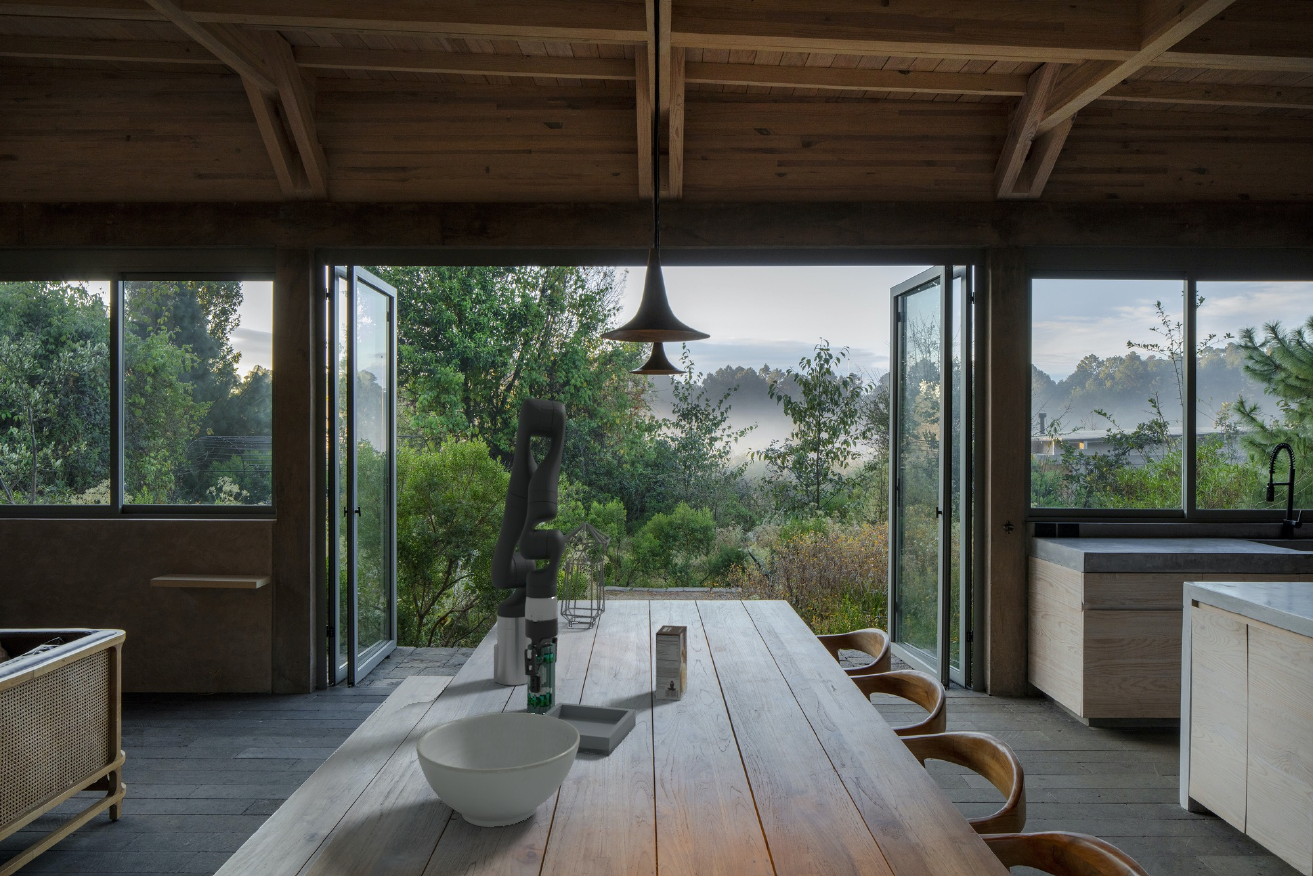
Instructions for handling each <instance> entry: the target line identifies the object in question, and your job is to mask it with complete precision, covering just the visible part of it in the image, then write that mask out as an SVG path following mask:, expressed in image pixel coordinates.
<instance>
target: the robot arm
mask: <svg viewBox="0 0 1313 876" xmlns="http://www.w3.org/2000/svg"><path fill="white" fill-rule="evenodd" d="M566 427H567V408H566V406H565V404H564V403H563V402H561V401H557V400H551V399H550V400H549V399H541V398H534V397H532V398H531V397H527V398H525V399H524V400H523V401H522V404H521V406H520V409H519V416H518V422H517V430H516V440H515V448H514V455H513V462H512V466H511V467H512V468H511V471H510V477H509V480H508V481H509V482H508V485H507V490H506V497H505V504H504V508H503V509H504V510H503V516H502V521H501V526H500V530H499V534H498V539H497V543H496V544H495V545H496V546H495V549H494V553H493V556H492V560H491V564H490V565H491V566H490V581H491V584H492V585H493V587H494V588H495V589H498V590H510V589H511V590H512V589H513V590H514V589H515V590H514V592H513V593H512V594H511V595H510V596H508V597H507V598H506V599H504V600H501V601H500V602H499V603H498V604H497V607H496V610H497V611H496V615H497V616H496V643H495V644H494V645H493V683H497V684H500V685H505V686H520V685H521V686H522V685H526V684H527V675H529V676H530V691H531V692H532V693H539V692H540V674H541V668H542V666H544V655H543V657H541V648H543V647H544V648H545V647H551V645H552V644H551V643H554V644H555V664H556V663H557V661H558V660H557V658H558V657H557V656H558V641H559V640H558V633H559V604H558V573H559V568H560V564H561V560H562V557H563V554H564V552H565V549H564V547H565V545H566V543H565V538H564V536H565V535H564V534H563V532H562V531H561V530H559V529H558V528H557V529H556V528H549V529H547V528H542V529H541V528H540V529H539V528H537V526H538V525H540V524H542V523H545V522H549V521H553V520H555V519H556V518H557V517H558V511H559V510H558V508H559V506H558V505H559V503H558V502H559V480H560V479H559V476H560V470H561V463H562V459H563V458H562V457H563V451H564V444H565V443H564V442H565V434H566ZM532 437H537V438H547V439H549V440H550V442H549V448H548V451H547V452H546V454H545V456H544V458H543V460H542V461H541V462H540V464H539V465H538V464H537V463H536V460H535V459H534V455H533V453H532V449H531V439H532ZM536 528H537V529H536ZM517 546H518V548H517ZM516 548H517V549H518V551H516ZM536 560H537V561H541V560H543V561H544V560H545V561H546V560H547V561H549V562H548V563H547V565H546V566H544V567H542V568H537V564H536ZM529 644H531V647H530V649H528V645H529ZM536 652H537V653H536ZM537 655H538V656H539V657H541V661H540V662H537ZM529 666H530V668H529ZM537 666H538V668H537Z"/></svg>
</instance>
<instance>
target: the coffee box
mask: <svg viewBox="0 0 1313 876" xmlns="http://www.w3.org/2000/svg"><path fill="white" fill-rule="evenodd" d="M687 633H688V626H687V625H662V626H661V627H660V628H659V629H658V630H657V631H656V633H655V699H656V698H657V700H671V701H681V700H682V698H683V697H684V695H685V693H686V692H687V691H688V685H687V684H688V639H687V638H688V634H687Z"/></svg>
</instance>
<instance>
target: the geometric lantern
mask: <svg viewBox="0 0 1313 876" xmlns="http://www.w3.org/2000/svg"><path fill="white" fill-rule="evenodd" d="M582 532H583V534H582ZM589 532H590V534H591V535H592V537H593V538H592V537H589ZM581 534H582V536H580V535H581ZM576 535H577V536H576ZM585 535H586V536H585ZM603 536H604V537H603ZM564 538H565V547H564V557H565V558H564V559H565V561H564V562H565V571H564V578H563V587H562V594H561V597H562V598H561V604H560V612H559V613H560V616H561V617H563V618H564V619H565V620H566V621H567V622H568V626H569V627H573V624H572V622H578V623H577V624H589V628H590V627H593V625H594V624H593V622H594V623H597V621H596V620H597V619H598V618H599V617H600V616H601V615H603V614H604V613H605V612H606V605H605V604H606V603H605V602H606V600H605V574H604V573H605V572H604V571H605V569H604V560H605V555H606V550H607V549H608V546H609V544H610V541H611V540H612V538H611V537H610V536H608V535H607V534H606V533H604V532H602V531H600V530H599V529H597V528H596V527H594V526H593V525H591V524H590V523H588V522H582V523H581V524H580V525H579V526H578V527H577V528H575V529H574V530H572V531H571V532H569V533H568V534H566V535H564ZM572 538H574V540H572ZM580 539H582V540H580ZM585 540H586V541H587V542H585ZM571 543H573V545H571ZM576 544H578V545H581V548H582V549H576ZM589 544H590V545H589ZM591 544H592V545H591ZM601 544H602V550H601V551H600V553H598V551H597V549H596V548H597V547H599V546H600V545H601ZM570 548H571V549H572V550H573V551H574V552H573V553H572V551H571V549H570ZM591 548H592V549H594V550H595V552H596V555H597V556H598V557H597V559H591V558H589V555H588V554H587V552H586V551H587V550H589V549H591ZM567 549H568V550H569V553H570V554H571V557H570V558H569V560H568V559H567ZM577 552H580V554H579V555H578V557H577V558H574V555H575V554H576V553H577ZM602 552H603V554H602ZM583 553H584V554H585V557H586V559H581V556H582V555H583ZM601 555H602V559H601ZM575 561H577V562H576V563H575ZM579 561H588V562H589V563H580V562H579ZM593 562H595V563H593ZM598 562H599V563H598ZM570 565H571V573H570ZM575 565H576V573H575V575H576V576H575V590H574V591H575V592H574V604H573V606H574V607H570V603H571V596H572V595H571V594H572V584H573V575H574V566H575ZM580 565H581V566H590V568H591V570H590V608H588V607H577V592H578V579H579V577H578V576H579V566H580ZM594 566H595V567H596V568H595V569H596V570H595V571H596V572H595V573H596V574H595V575H596V576H595V577H596V578H595V579H596V608H593V587H594V585H593V584H594V583H593V582H594V581H593V575H594V574H593V573H594V571H593V570H594V568H593V567H594ZM569 574H570V582H569ZM565 590H566V591H565ZM564 597H565V599H564ZM601 597H602V598H601ZM564 601H565V604H564ZM601 601H602V605H601ZM564 605H565V608H564V610H563V607H564ZM601 606H603V609H601ZM570 610H573V614H572V612H571V611H570ZM576 610H585V611H586V610H587V611H590V615H582V614H576ZM567 611H568V613H567ZM593 611H596V613H595V614H594V615H593ZM569 617H570V618H569ZM576 619H590V620H589V621H579V620H578V621H577V620H576ZM570 624H571V626H570ZM593 628H594V627H593Z"/></svg>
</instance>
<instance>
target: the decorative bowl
mask: <svg viewBox="0 0 1313 876" xmlns="http://www.w3.org/2000/svg"><path fill="white" fill-rule="evenodd" d="M579 742H580V735H579V732H578V730H577V729H576V728H575V727H574V726H573V725H571V724H569V723H568V722H566V721H563V720H561V719H558V718H554V717H550V716H546V715H544V714H543V715H542V714H531V713H529V712H528V713H527V712H495V713H484V714H478V715H472V716H468V717H463V718H459V719H455V720H452V721H448V722H445V723H443V724H440V725H438V726H436V727H434V728H431V729H430V730H429V731H427V732H426V733H424V734H423V735H422V736H421V737H420V738H419V740H418V741H417V743H416V755H417V759H418V762H419V765H420V768H421V771H422V773H423V775H424V777H425V779H426V781H427V783H428V785H429V786H430V788H431V789H432V791H433V792H434V793H435V794H436V796H437V797H438V798H439V799H440V800H441V801H442V802H443V803H444V804H445V805H447V806H448V807H450V808H451V809H453V810H454V811H456V812H458V813H459V814H461V817H462V818H463V819H464V820H465V821H466V822H467V823H469V824H471V825H473V826H474V825H475V826H477V827H478V826H479V827H484V828H495V827H494V826H503V825H509V824H513V825H516V824H515V823H517V822H520V821H522V820H524V821H527V820H528V819H530V818H531V817H532V816H533V815H534V814H535V813H536V812H537V808H538V807H539V806H542V805H543V804H544V803H546V802H547V801H548V800H549V799H550V798H551V797H552V796H553V795H554V794H555V793H556V792H557V791H558V790H559V788H560V787H561V786H562V784H563V783H564V781H565V779H566V778H567V776H568V774H569V773H570V770H571V769H572V766H573V764H574V762H575V759H576V758H577V757H576V756H577V753H578V752H577V750H578V747H579ZM534 812H535V813H534ZM531 815H532V816H531ZM530 816H531V817H530ZM529 817H530V818H529ZM527 818H528V819H527ZM522 822H523V821H522ZM520 823H521V822H520ZM517 824H518V823H517ZM509 826H510V825H509ZM503 827H504V826H503Z"/></svg>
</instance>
